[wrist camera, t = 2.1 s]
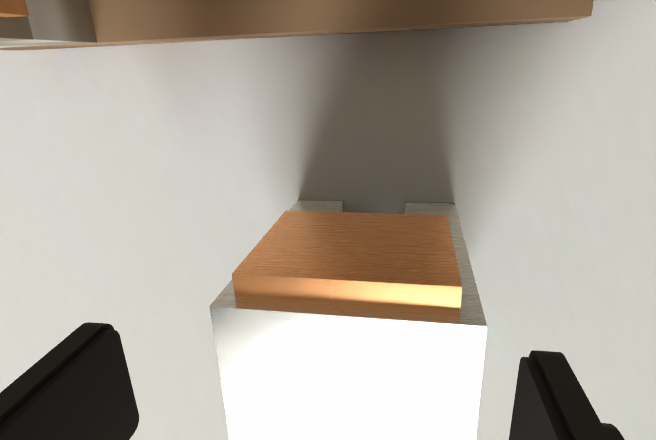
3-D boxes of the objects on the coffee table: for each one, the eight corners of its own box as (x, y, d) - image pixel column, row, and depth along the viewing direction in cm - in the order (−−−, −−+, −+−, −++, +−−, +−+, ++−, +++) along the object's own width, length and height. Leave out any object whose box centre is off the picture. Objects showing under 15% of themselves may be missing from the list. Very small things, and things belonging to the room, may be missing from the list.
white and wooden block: (448, 297, 17) (471, 473, 10) (303, 288, 19) (229, 440, 11) (455, 185, 16) (490, 296, 8) (296, 182, 17) (205, 279, 10)
